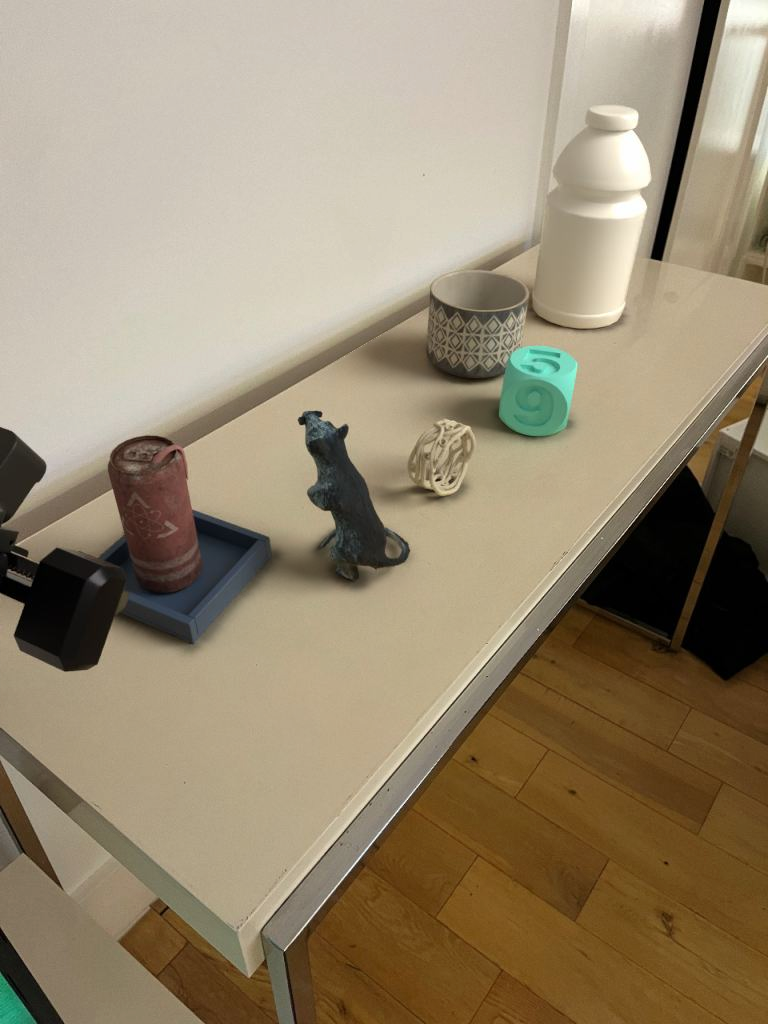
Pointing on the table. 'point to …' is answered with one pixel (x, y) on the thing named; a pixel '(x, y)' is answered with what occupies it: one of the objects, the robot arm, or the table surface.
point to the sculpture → (346, 501)
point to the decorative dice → (537, 390)
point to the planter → (475, 322)
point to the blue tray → (223, 575)
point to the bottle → (593, 222)
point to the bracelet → (455, 433)
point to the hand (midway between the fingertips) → (74, 577)
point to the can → (156, 512)
